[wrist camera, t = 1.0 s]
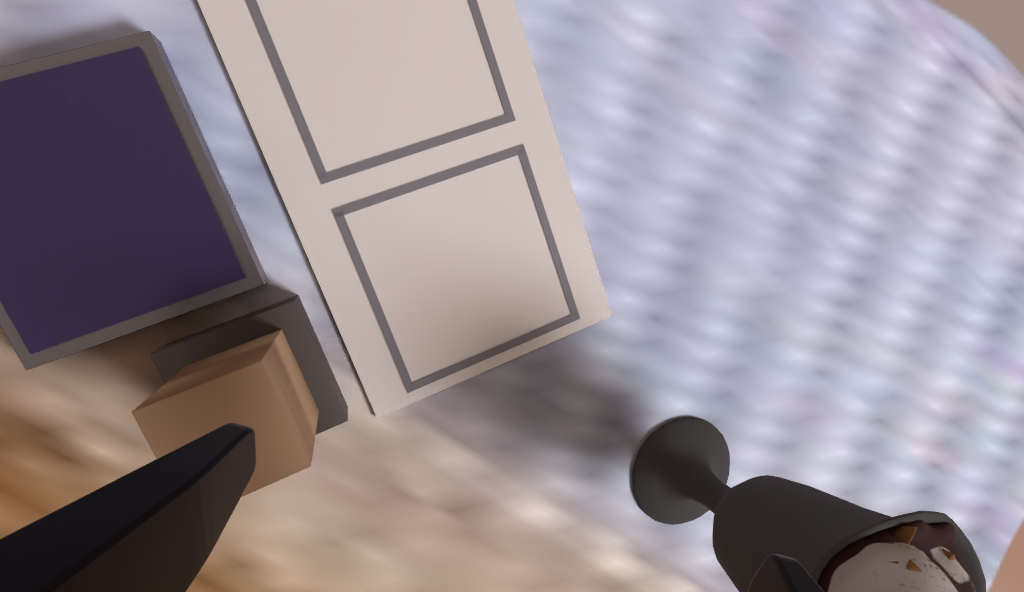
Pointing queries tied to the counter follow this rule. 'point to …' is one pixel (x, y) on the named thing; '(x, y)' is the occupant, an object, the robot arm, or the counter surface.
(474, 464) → the counter surface
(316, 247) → the form sheet
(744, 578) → the sundae
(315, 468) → the counter surface
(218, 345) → the stamp
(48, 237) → the ink pad
